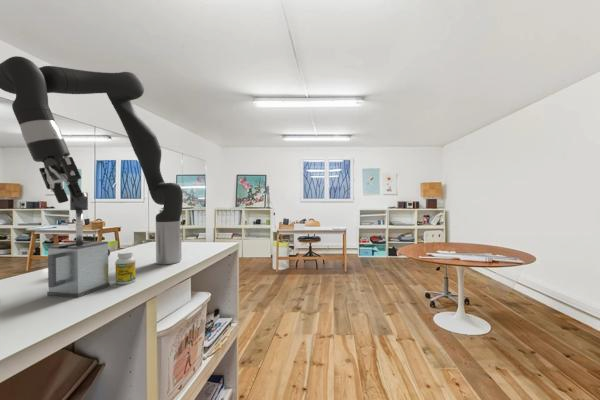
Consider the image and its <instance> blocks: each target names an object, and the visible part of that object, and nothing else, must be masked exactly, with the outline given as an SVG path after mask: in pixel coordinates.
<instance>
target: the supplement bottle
mask: <svg viewBox="0 0 600 400" xmlns="http://www.w3.org/2000/svg"><path fill="white" fill-rule="evenodd" d="M133 253H134V252H133V251H132V250H129V251H128V250H126V251H120V252H118V253H117V258H118V259H116V261H115V283H116V284H117V285H129V284H132V283H134V282H136V278H137V277H136V276H137V275H136V259H135V257H133V256H134V255H133Z"/></svg>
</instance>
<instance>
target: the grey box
mask: <svg viewBox="0 0 600 400" xmlns="http://www.w3.org/2000/svg"><path fill="white" fill-rule="evenodd" d="M108 249H109V241H100V240H98V241H92V243H91V240H83V244H80V245H76V241H73V242H72V241H71V242H67V243H60V244H55V245H54V244H53V245H48V246H47V250H48V251H47V253H48V254H47V269H48V270H47V273H48V274H47V275H48V276H47V277H48V284H47V286H48V291H47V292H46V296H48V297H63V298H66V297H67V298H80V297H83V296H85V295H88V294H91V293H94V292H96V291H100V290H102V289H104V288H107V287H110V284H111V283H110V282H109V257H108Z"/></svg>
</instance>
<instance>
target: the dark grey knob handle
mask: <svg viewBox="0 0 600 400" xmlns="http://www.w3.org/2000/svg"><path fill="white" fill-rule="evenodd" d="M88 193H89V192H82V194H83V196H82V197H79V198H75V199H74V198H72V196H71V194H70V193H69V207H70V208H69V210H70V211H75V242H76V245H80V244H83V241H84V219H83V218H84V216H83V215H84V213H83V211H87V210H89V201H88V200H89V199H88V196H89V194H88Z"/></svg>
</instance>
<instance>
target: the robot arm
mask: <svg viewBox="0 0 600 400" xmlns="http://www.w3.org/2000/svg"><path fill="white" fill-rule="evenodd" d="M0 89H1V90H2V91H4V92H6V93H10V94H11V95H13V94H14V95H15V99H14V100H13V102H12V105H11V106H12V107H11V108H12V110H13V114H14V116H15V118H16V120H17V122H18V124H19V128H20V131H21V132H20V133H21V136H22V137H23V140H24V142H25V145H26V146H27V149H28V151H29V153H30V155H31V158H32V160H33V161H34V162H36V163H40V162H41V163H42V164H43V166H44V167H40V168H38V169H39V172H40V175H41V178H42V180H43V182H44V184H45V187H46V189H47V190H50V191H52V192H53V194H54V196H55V198H56V201H57V202H58V203H59V204H62V203H66V202H68V201H69V197H68V196H67V193H66V191H65V189H64V184H66V186H67V189H68V191H69V195H70V194H71V196H72V198H74V199H75V198H79V197H82V196H83V194H82V193H83V191H82V190H81V187H80V184H79V182H80V180H81V179H82V176H81V174H80V171H79V170H78V167H77V165H76V161H74V159H73V156H71V153H70V150H69V148H68V146H67V143H66V141H65V139H64V137H63V134H62V132H61V129H60V128H59V126H58V124H57V122H56V121H55V118H54V115H53V113H52V111H51V108H50V106H49V97H48V94H62V95H63V94H65V95H91V94H92V95H93V94H106V96H107V98H108V99H109V101H110V103H111V105H112V106H113V108H114V110H115V112H116V114H117V115H118V118H119V119H120V122H121V124H122V126H123V129H124V131H125V132H126V134H127V137H128V140H129V142H130V145H131V147H132V150H133V151H134V154H135V156H136V158H137V161H138V162H139V166H140V169H141V170H142V173H143V175H144V178H145V181H146V185H147V188H148V191H149V195H150V197H151V199H152V201H153V202H154V203H155V204H157V205H160V206H161V205H162V206H163V208H162V211H160V212H159V213H157V214H156V215H155V264H156V265H173V264H176V263H180V262H181V260H182V238H181V215H182V213H183V198H184V197H183V189H182V187H181V186H180V184H178V183H176V182H165V180H164V178H163V175H162V171H161V161H162V148H161V146H160V142H159V141H158V137H157V135H156V134H155V132H154V131H153V130H152V128H151V127H150V126H149V125H148V124H147V123H146V122H144V120H143V119H142V118H141V117H139V114H137V112H136V110H135V107H134V105H133V103H132V101H135V100H138V99H139V98H141V97H142V96H143V95H144V92H145V87H144V83H143V82H142V80H141V78H140V77H139V76H137V74H134V73H133V72H130V71H121V72H103V71H102V72H101V71H92V70H91V71H89V70H83V69H82V70H81V69H75V68H69V67H62V66H55V65H45V66H40V67H38V65H36V64H35V62H34V61H32V60H30V59H28V58H26V57H23V56H18V55H17V56H16V55H15V56H11V57H9V58H7V59H5V60H4V61H2V62H1V63H0ZM63 183H64V184H63Z"/></svg>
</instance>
